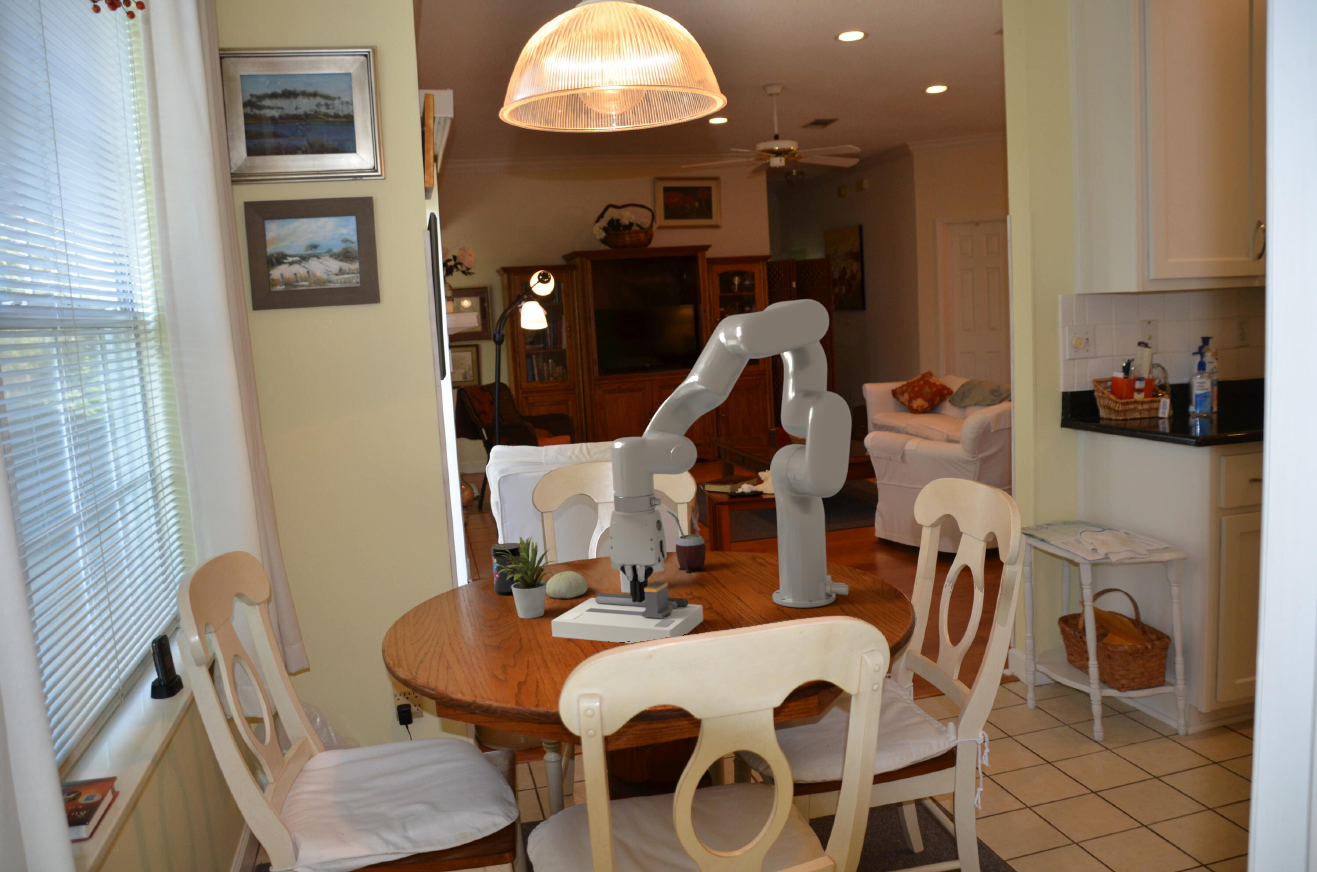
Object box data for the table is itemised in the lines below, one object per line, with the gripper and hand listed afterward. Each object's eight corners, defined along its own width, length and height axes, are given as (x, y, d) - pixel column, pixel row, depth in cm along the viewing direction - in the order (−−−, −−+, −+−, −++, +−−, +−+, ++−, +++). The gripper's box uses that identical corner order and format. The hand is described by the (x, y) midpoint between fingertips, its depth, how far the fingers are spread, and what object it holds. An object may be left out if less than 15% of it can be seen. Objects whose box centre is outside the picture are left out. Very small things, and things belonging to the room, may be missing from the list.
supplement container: (510, 586, 212) (507, 541, 211) (531, 589, 208) (528, 544, 207) (488, 593, 207) (485, 547, 206) (509, 597, 203) (506, 550, 202)
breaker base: (703, 620, 178) (701, 596, 178) (670, 646, 164) (669, 621, 163) (592, 612, 188) (590, 589, 188) (552, 636, 174) (550, 612, 173)
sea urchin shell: (535, 591, 199) (546, 559, 204) (549, 609, 205) (560, 578, 210) (573, 593, 196) (583, 561, 201) (586, 612, 202) (596, 580, 206)
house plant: (485, 610, 194) (479, 533, 192) (549, 600, 199) (544, 524, 197) (501, 628, 180) (495, 545, 179) (569, 616, 186) (564, 536, 184)
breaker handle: (672, 610, 175) (671, 582, 174) (661, 618, 170) (660, 589, 169) (653, 608, 176) (651, 581, 176) (642, 616, 172) (640, 588, 171)
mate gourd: (710, 567, 220) (707, 504, 219) (700, 575, 213) (696, 510, 211) (681, 566, 223) (677, 504, 222) (669, 574, 216) (666, 510, 214)
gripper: (679, 501, 173) (684, 597, 175) (607, 499, 179) (613, 592, 181) (663, 508, 166) (668, 608, 168) (589, 506, 172) (595, 603, 174)
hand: (639, 600), depth 174 cm, fingers closed
